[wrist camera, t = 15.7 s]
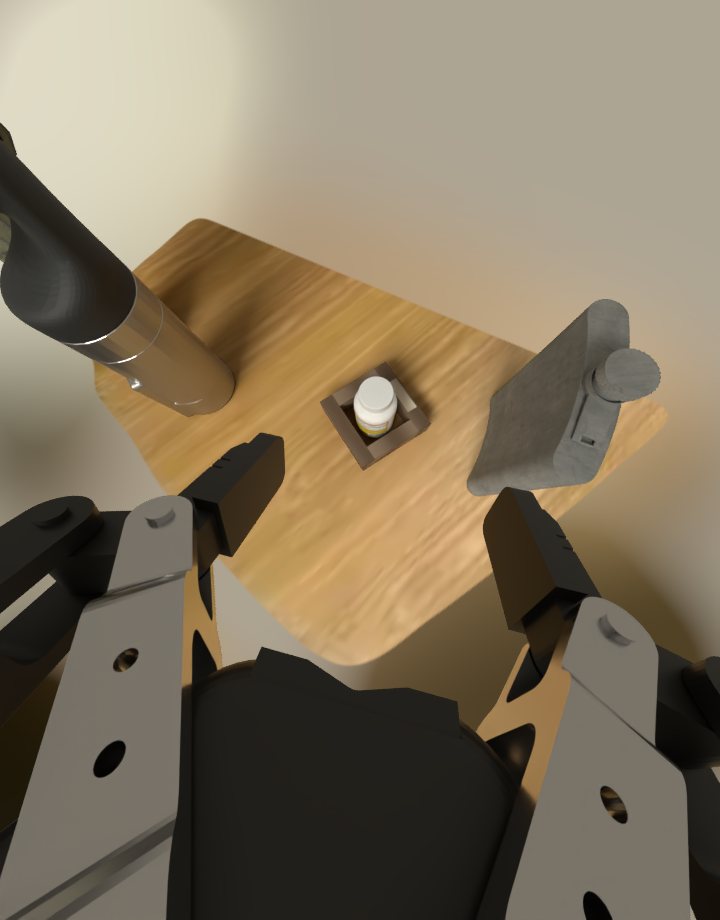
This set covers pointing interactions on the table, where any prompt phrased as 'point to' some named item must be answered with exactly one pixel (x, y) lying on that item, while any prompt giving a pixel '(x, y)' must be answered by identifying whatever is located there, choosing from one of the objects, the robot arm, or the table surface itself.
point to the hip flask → (563, 406)
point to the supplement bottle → (375, 407)
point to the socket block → (386, 444)
